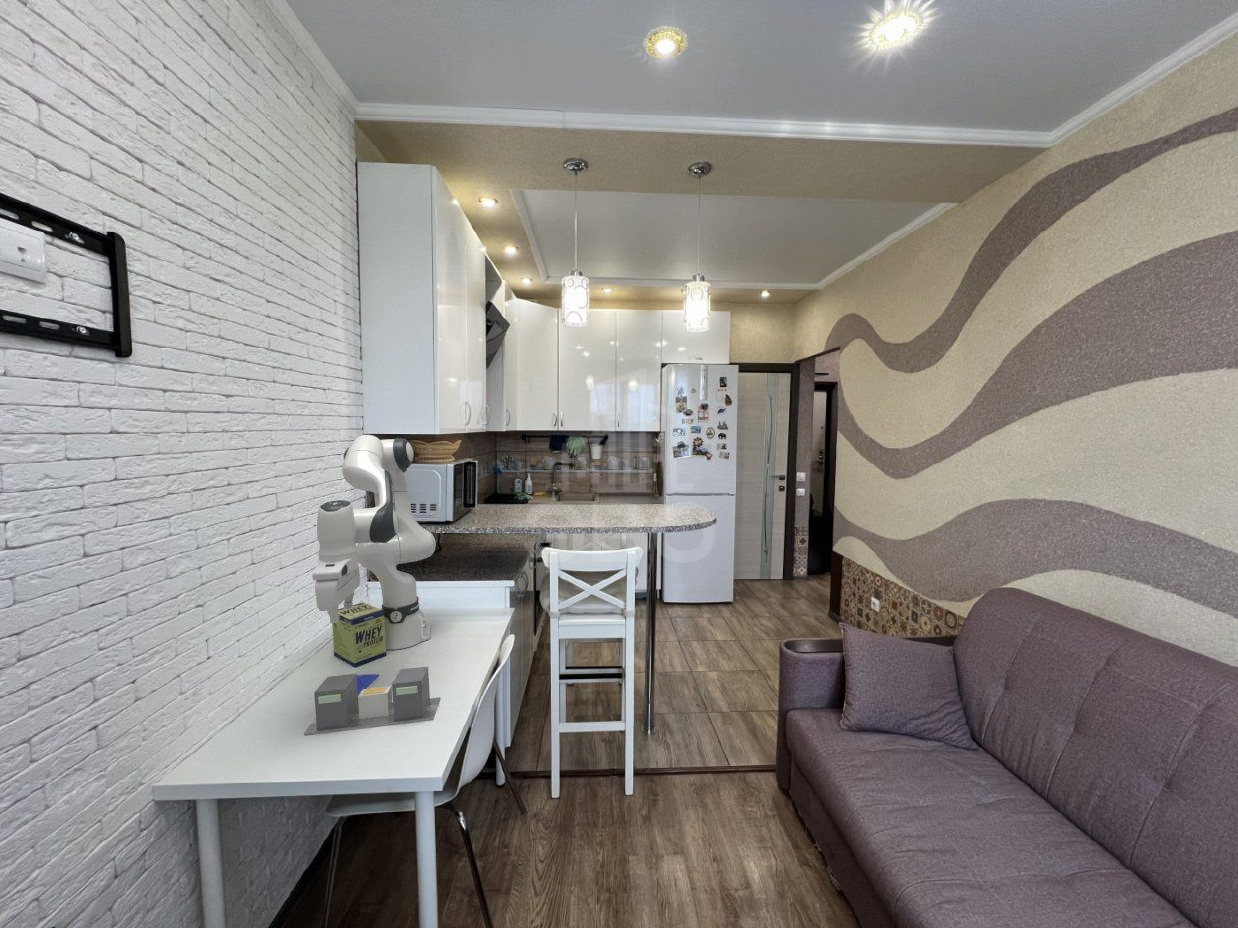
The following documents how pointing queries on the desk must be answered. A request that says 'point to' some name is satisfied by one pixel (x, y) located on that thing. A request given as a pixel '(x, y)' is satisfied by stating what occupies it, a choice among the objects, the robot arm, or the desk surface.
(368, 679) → the hard drive
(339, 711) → the block
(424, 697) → the block
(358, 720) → the rail plate
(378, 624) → the protein box
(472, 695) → the desk surface
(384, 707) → the loose module
